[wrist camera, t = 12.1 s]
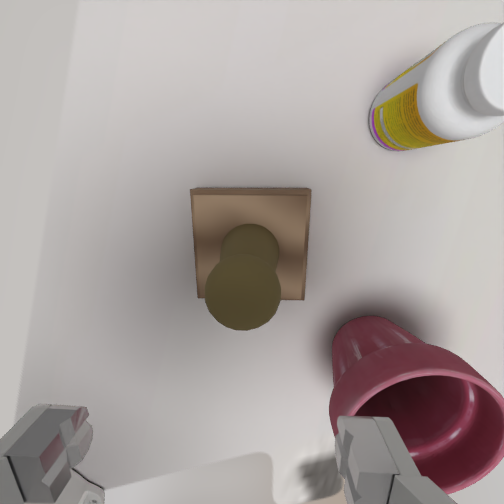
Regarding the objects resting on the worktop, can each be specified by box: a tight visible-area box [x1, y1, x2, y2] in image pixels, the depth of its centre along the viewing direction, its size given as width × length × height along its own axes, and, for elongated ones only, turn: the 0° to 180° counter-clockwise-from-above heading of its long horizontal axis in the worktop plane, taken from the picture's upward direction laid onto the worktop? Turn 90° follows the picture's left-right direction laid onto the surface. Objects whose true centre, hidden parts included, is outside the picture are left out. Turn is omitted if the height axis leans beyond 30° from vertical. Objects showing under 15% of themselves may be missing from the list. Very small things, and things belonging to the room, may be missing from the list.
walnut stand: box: [190, 188, 311, 300], centre depth 28 cm, size 12×12×4 cm
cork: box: [205, 224, 281, 330], centre depth 21 cm, size 6×6×11 cm
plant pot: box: [329, 316, 504, 494], centre depth 27 cm, size 14×14×13 cm
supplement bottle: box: [369, 23, 504, 151], centre depth 20 cm, size 7×7×13 cm
